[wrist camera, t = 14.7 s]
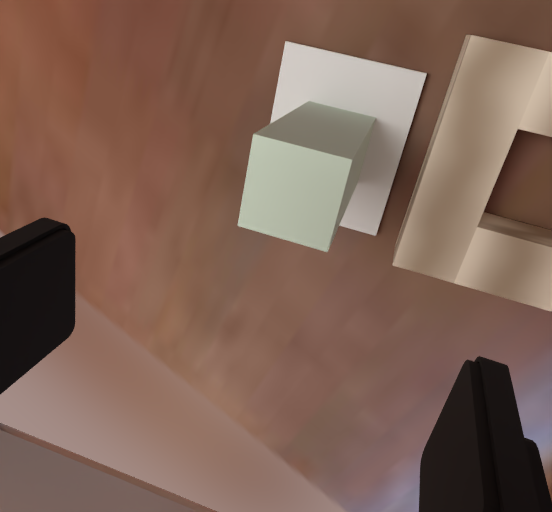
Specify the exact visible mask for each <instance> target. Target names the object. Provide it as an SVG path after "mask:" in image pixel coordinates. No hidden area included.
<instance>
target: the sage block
mask: <svg viewBox="0 0 552 512" xmlns="http://www.w3.org/2000/svg"><path fill="white" fill-rule="evenodd" d="M375 119H376V117H372V116H368V115H364V114H360V113H356V112H351V111H347V110H343V109H339V108H335V107H331V106H327V105H323V104H319V103H315V102H311V101H308V102H306V103H304V104H303V105H301V106H299V107H298V108H296V109H294V110H293V111H291V112H289V113H288V114H286V115H284V116H283V117H281V118H279V119H278V120H276V121H274V122H273V123H271V124H269V125H268V126H266V127H264V128H262V129H261V130H259V131H257V132H256V133H254V134H253V139H252V145H251V151H250V157H249V162H248V168H247V174H246V180H245V186H244V192H243V197H242V203H241V209H240V215H239V221H238V226H240V227H243V228H247V229H250V230H254V231H257V232H260V233H264V234H267V235H271V236H274V237H278V238H281V239H284V240H288V241H291V242H295V243H298V244H301V245H305V246H308V247H312V248H315V249H318V250H322V251H325V252H328V250H329V248H330V245H331V243H332V241H333V239H334V236H335V234H336V232H337V229H338V227H339V225H340V222H341V220H342V218H343V216H344V213H345V211H346V209H347V206H348V204H349V202H350V200H351V197H352V195H353V193H354V190H355V188H356V186H357V183H358V180H359V176H360V173H361V169H362V166H363V162H364V158H365V155H366V151H367V148H368V144H369V141H370V137H371V133H372V130H373V126H374V123H375Z"/></svg>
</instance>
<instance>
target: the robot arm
mask: <svg viewBox="0 0 552 512" xmlns="http://www.w3.org/2000/svg"><path fill="white" fill-rule="evenodd" d="M74 326H75V235H74V234H73V233H72V232H71V230H70V227H69V226H68V225H67V224H64V223H61V222H58V221H55V220H52V219H48V218H41V219H39V220H36V221H34V222H32V223H30V224H28V225H26V226H24V227H22V228H20V229H17V230H15V231H13V232H11V233H9V234H7V235H5V236H3V237H1V238H0V394H1V393H2V392H4V391H5V390H6V389H7V388H8V387H10V386H11V385H12V384H13V383H15V382H16V381H17V380H18V379H19V378H20V377H22V376H23V375H24V374H25V373H26V372H28V371H29V370H30V369H31V368H32V367H34V366H35V365H36V364H37V363H38V362H40V361H41V360H42V359H43V358H44V357H46V356H47V355H48V354H49V353H50V352H51V351H52V350H54V349H55V348H56V347H58V346H59V345H60V344H61V343H62V342H63V341H65V340H66V339H67V338H68V337H69V336H70V335H71V333H72V332H73V329H74ZM0 512H217V511H215V510H212V509H210V508H207V507H205V506H202V505H200V504H198V503H195V502H193V501H190V500H188V499H186V498H183V497H181V496H178V495H176V494H174V493H171V492H169V491H166V490H164V489H161V488H159V487H156V486H154V485H152V484H149V483H147V482H144V481H142V480H139V479H137V478H135V477H132V476H130V475H127V474H124V473H122V472H120V471H117V470H115V469H113V468H110V467H107V466H105V465H103V464H100V463H98V462H95V461H93V460H90V459H88V458H85V457H83V456H81V455H78V454H76V453H73V452H71V451H68V450H66V449H63V448H61V447H59V446H56V445H53V444H51V443H49V442H46V441H44V440H41V439H38V438H36V437H34V436H31V435H29V434H26V433H24V432H21V431H19V430H17V429H14V428H12V427H9V426H7V425H4V424H1V423H0ZM419 512H552V502H551V498H550V494H549V490H548V486H547V482H546V478H545V474H544V470H543V466H542V462H541V458H540V454H539V450H538V447H537V445H536V443H535V442H534V441H532V440H530V439H527V438H524V435H523V431H522V426H521V422H520V417H519V413H518V408H517V404H516V399H515V395H514V390H513V386H512V381H511V377H510V372H509V368H508V366H507V365H505V364H502V363H499V362H496V361H492V360H489V359H486V358H483V357H480V356H479V357H477V358H476V360H475V361H474V362H473V361H470V360H466V361H465V362H464V364H463V366H462V368H461V371H460V373H459V375H458V377H457V379H456V381H455V383H454V386H453V388H452V390H451V392H450V394H449V396H448V399H447V401H446V403H445V405H444V407H443V409H442V412H441V414H440V416H439V418H438V420H437V422H436V425H435V427H434V429H433V431H432V433H431V435H430V437H429V440H428V442H427V444H426V446H425V448H424V451H423V454H422V458H421V465H420V496H419Z"/></svg>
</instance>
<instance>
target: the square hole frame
mask: <svg viewBox="0 0 552 512" xmlns="http://www.w3.org/2000/svg"><path fill="white" fill-rule="evenodd" d="M517 129H520V130H525V131H529V132H533V133H537V134H541V135H545V136H550V137H552V52H548V51H543V50H539V49H534V48H529V47H525V46H520V45H516V44H511V43H506V42H502V41H497V40H492V39H488V38H483V37H478V36H474V35H466V37H465V40H464V42H463V45H462V48H461V51H460V54H459V57H458V60H457V63H456V66H455V69H454V72H453V75H452V78H451V81H450V84H449V87H448V90H447V93H446V96H445V99H444V102H443V105H442V108H441V111H440V114H439V117H438V119H437V122H436V125H435V128H434V131H433V134H432V137H431V140H430V143H429V146H428V149H427V152H426V155H425V158H424V161H423V164H422V167H421V170H420V173H419V176H418V179H417V182H416V185H415V188H414V191H413V194H412V196H411V199H410V202H409V205H408V208H407V211H406V214H405V217H404V220H403V223H402V226H401V229H400V232H399V235H398V238H397V241H396V244H395V250H394V257H393V266H397V267H400V268H404V269H407V270H410V271H414V272H417V273H421V274H424V275H428V276H431V277H434V278H438V279H441V280H445V281H448V282H451V283H455V284H458V285H462V286H465V287H469V288H472V289H475V290H479V291H482V292H486V293H489V294H492V295H496V296H499V297H503V298H506V299H509V300H513V301H516V302H520V303H523V304H527V305H530V306H533V307H537V308H540V309H544V310H547V311H550V312H552V230H549V229H545V228H541V227H538V226H534V225H530V224H526V223H523V222H519V221H515V220H512V219H508V218H504V217H500V216H497V215H493V214H489V213H485V212H484V209H485V207H486V204H487V202H488V199H489V197H490V195H491V192H492V190H493V187H494V185H495V183H496V180H497V178H498V175H499V173H500V170H501V168H502V166H503V163H504V161H505V158H506V156H507V154H508V151H509V149H510V146H511V144H512V142H513V139H514V137H515V134H516V132H517Z"/></svg>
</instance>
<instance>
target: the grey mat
mask: <svg viewBox="0 0 552 512" xmlns="http://www.w3.org/2000/svg"><path fill="white" fill-rule="evenodd" d="M426 75H427V73H424V72H420V71H416V70H411V69H407V68H403V67H398V66H394V65H390V64H385V63H381V62H376V61H372V60H368V59H363V58H359V57H355V56H350V55H346V54H342V53H337V52H333V51H329V50H324V49H320V48H316V47H311V46H307V45H303V44H298V43H294V42H290V41H286V42H285V47H284V52H283V58H282V63H281V69H280V74H279V79H278V85H277V90H276V95H275V101H274V106H273V111H272V117H271V122H270V124H271V123H273V122H274V121H276V120H278V119H279V118H281V117H283V116H284V115H286V114H288V113H289V112H291V111H293V110H294V109H296V108H298V107H299V106H301V105H303V104H304V103H306V102H308V101H311V102H315V103H319V104H323V105H327V106H331V107H335V108H339V109H343V110H347V111H351V112H356V113H360V114H364V115H368V116H372V117H376V119H375V123H374V126H373V130H372V133H371V137H370V141H369V144H368V148H367V151H366V155H365V158H364V162H363V166H362V169H361V173H360V176H359V180H358V183H357V186H356V188H355V190H354V193H353V195H352V197H351V200H350V202H349V204H348V206H347V209H346V211H345V213H344V216H343V218H342V220H341V222H340V225H339V226H343V227H346V228H350V229H353V230H357V231H360V232H364V233H367V234H371V235H374V236H376V234H377V231H378V228H379V224H380V221H381V218H382V215H383V212H384V209H385V205H386V202H387V199H388V196H389V193H390V190H391V186H392V183H393V180H394V177H395V174H396V170H397V167H398V164H399V161H400V158H401V155H402V151H403V148H404V145H405V142H406V139H407V136H408V132H409V129H410V126H411V123H412V120H413V116H414V113H415V110H416V107H417V104H418V101H419V97H420V94H421V91H422V88H423V85H424V82H425V78H426Z"/></svg>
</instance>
